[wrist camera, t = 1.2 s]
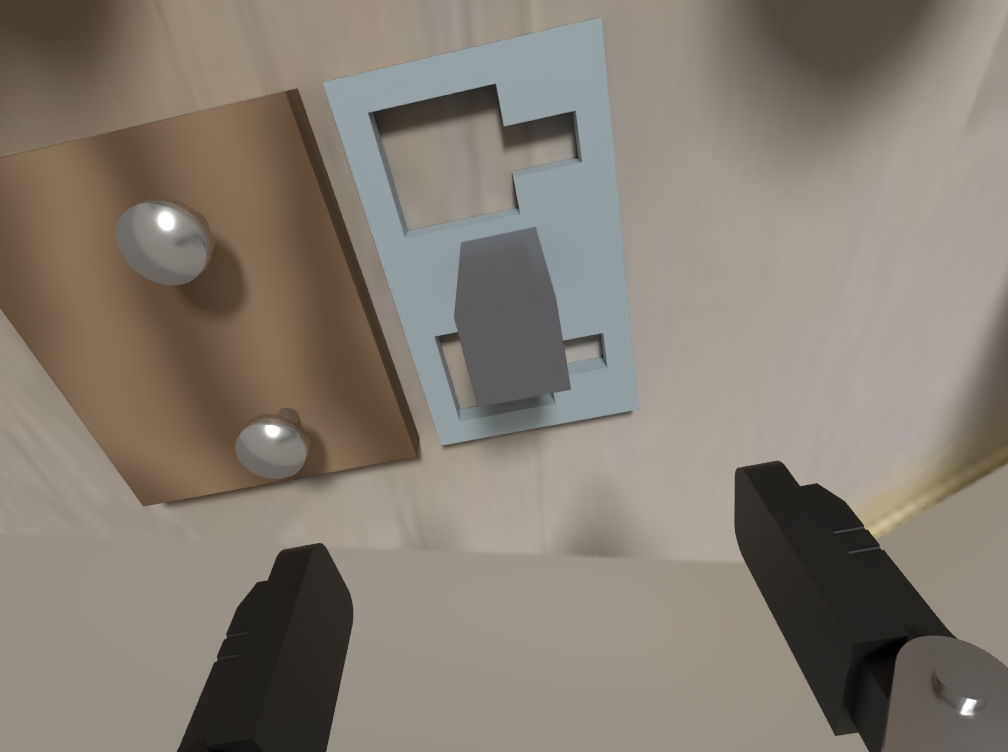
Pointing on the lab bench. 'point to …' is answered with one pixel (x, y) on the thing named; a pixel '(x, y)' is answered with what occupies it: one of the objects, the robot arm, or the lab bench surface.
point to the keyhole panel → (539, 199)
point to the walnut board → (201, 301)
